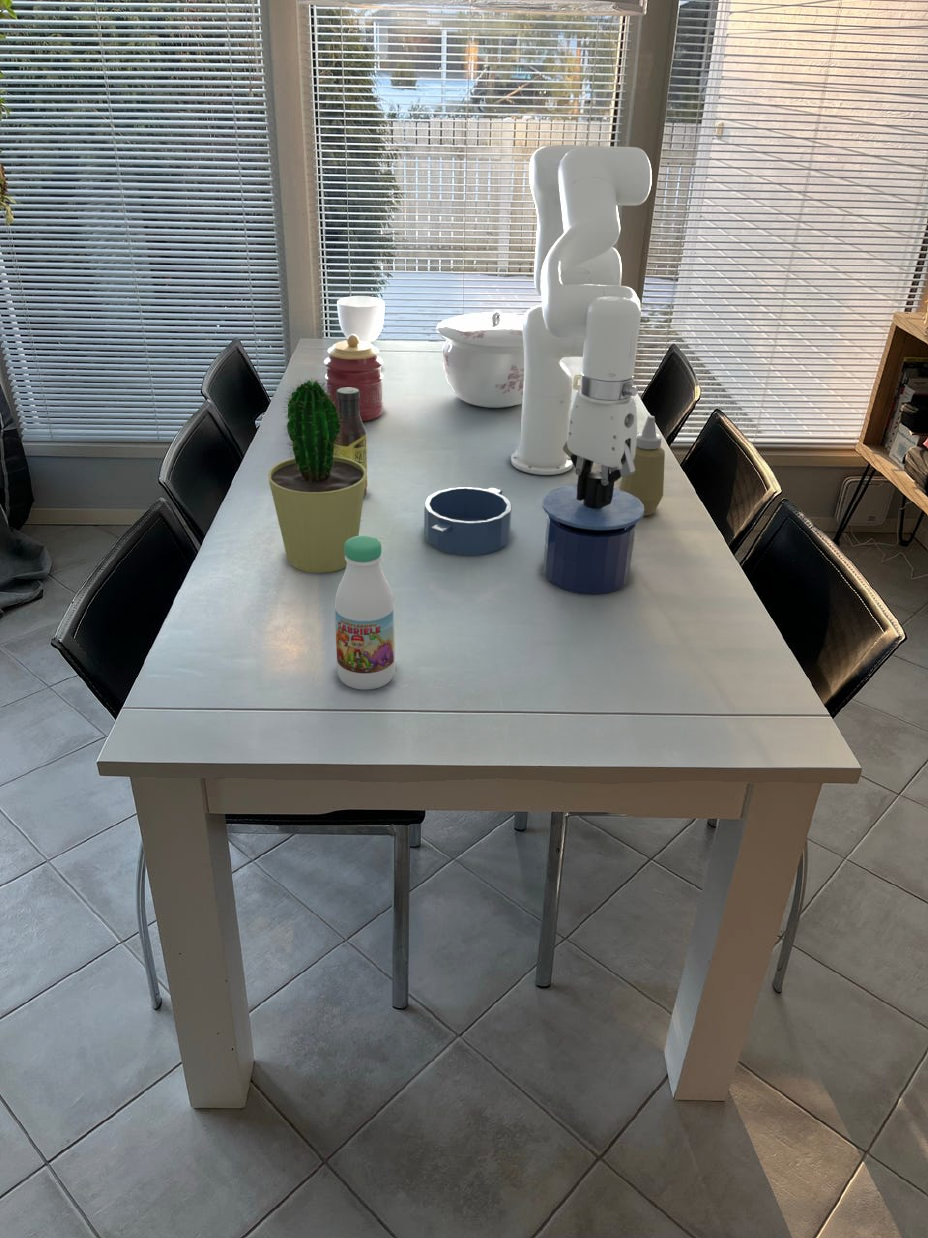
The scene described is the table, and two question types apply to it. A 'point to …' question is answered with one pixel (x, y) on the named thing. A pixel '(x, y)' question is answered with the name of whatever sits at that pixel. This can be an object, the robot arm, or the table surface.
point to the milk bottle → (364, 618)
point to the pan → (467, 520)
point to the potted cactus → (316, 485)
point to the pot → (587, 557)
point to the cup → (361, 316)
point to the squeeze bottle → (647, 469)
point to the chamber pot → (484, 358)
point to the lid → (592, 507)
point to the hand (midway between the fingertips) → (593, 500)
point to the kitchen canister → (356, 374)
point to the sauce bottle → (351, 428)
